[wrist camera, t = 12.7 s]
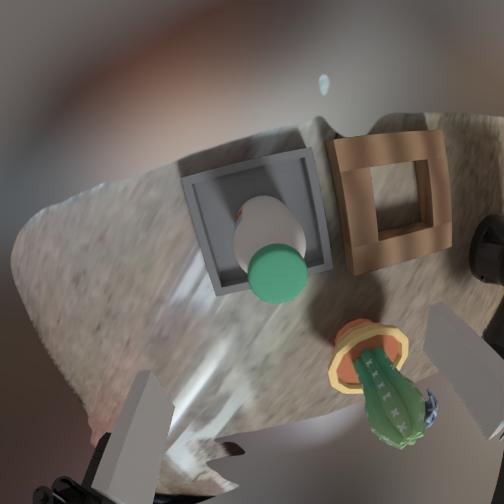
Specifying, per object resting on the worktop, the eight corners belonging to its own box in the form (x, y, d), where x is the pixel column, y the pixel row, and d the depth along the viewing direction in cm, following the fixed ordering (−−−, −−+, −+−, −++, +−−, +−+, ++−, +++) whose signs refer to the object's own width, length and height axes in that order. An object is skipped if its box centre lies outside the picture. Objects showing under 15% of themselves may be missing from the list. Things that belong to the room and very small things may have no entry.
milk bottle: (251, 185, 37) (255, 208, 18) (299, 209, 38) (347, 256, 20) (227, 233, 39) (209, 299, 20) (274, 255, 41) (296, 334, 22)
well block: (428, 131, 35) (442, 129, 31) (439, 240, 41) (451, 246, 38) (325, 141, 36) (333, 139, 33) (346, 266, 43) (354, 275, 39)
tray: (306, 148, 37) (311, 147, 34) (327, 262, 42) (333, 269, 39) (185, 177, 38) (180, 178, 35) (218, 287, 43) (216, 296, 40)
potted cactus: (361, 373, 51) (402, 466, 27) (302, 356, 48) (330, 470, 24) (404, 317, 46) (473, 402, 23) (348, 290, 44) (419, 396, 20)
